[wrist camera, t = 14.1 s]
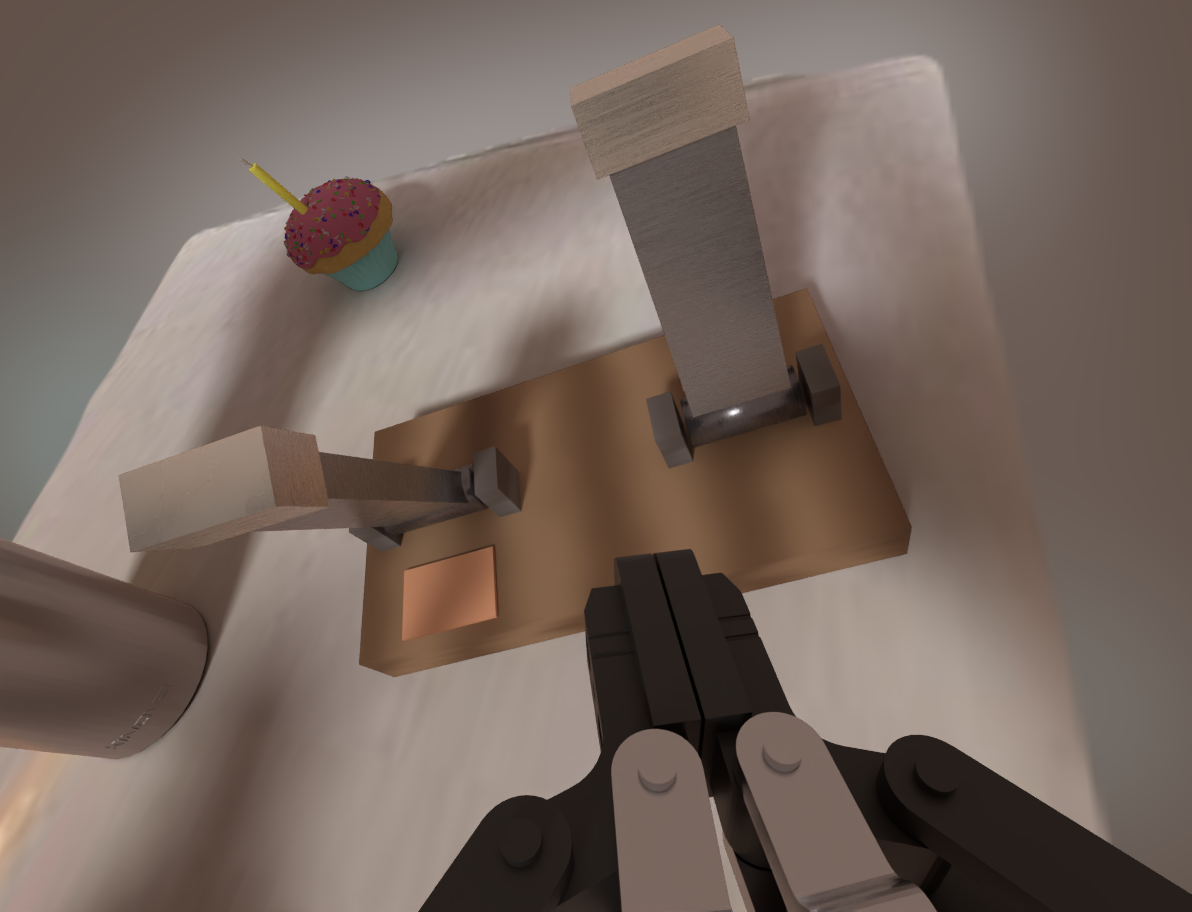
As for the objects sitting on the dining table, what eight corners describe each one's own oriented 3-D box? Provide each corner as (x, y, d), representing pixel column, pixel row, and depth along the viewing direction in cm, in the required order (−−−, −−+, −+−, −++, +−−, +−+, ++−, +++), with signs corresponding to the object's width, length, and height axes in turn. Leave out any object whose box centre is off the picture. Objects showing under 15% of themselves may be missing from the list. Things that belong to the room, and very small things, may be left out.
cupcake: (353, 325, 50) (232, 201, 41) (313, 281, 55) (197, 160, 45) (437, 254, 51) (338, 116, 41) (391, 216, 56) (293, 84, 46)
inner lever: (407, 534, 35) (130, 552, 19) (397, 491, 35) (118, 475, 20) (494, 509, 34) (275, 506, 18) (484, 464, 34) (260, 425, 19)
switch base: (394, 677, 34) (322, 651, 30) (402, 455, 42) (346, 407, 37) (906, 553, 29) (917, 498, 24) (809, 325, 36) (803, 249, 32)
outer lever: (697, 458, 30) (571, 105, 20) (690, 426, 32) (570, 87, 22) (809, 425, 29) (733, 37, 19) (795, 394, 31) (719, 24, 21)
